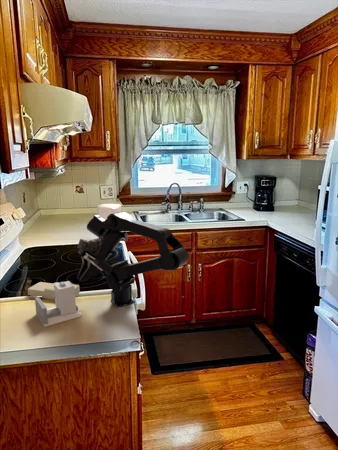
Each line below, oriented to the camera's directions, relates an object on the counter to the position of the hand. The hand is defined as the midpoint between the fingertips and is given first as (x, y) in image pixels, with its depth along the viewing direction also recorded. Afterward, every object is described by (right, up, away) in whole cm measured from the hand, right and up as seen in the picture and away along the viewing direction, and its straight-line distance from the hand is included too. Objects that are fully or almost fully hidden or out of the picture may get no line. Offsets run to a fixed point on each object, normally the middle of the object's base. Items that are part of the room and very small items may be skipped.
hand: (79, 280), depth 113 cm
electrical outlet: (-13, -8, +14) cm, 21 cm away
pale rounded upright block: (-7, +10, +97) cm, 98 cm away
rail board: (-6, -11, -2) cm, 13 cm away
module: (-4, -11, -1) cm, 12 cm away
